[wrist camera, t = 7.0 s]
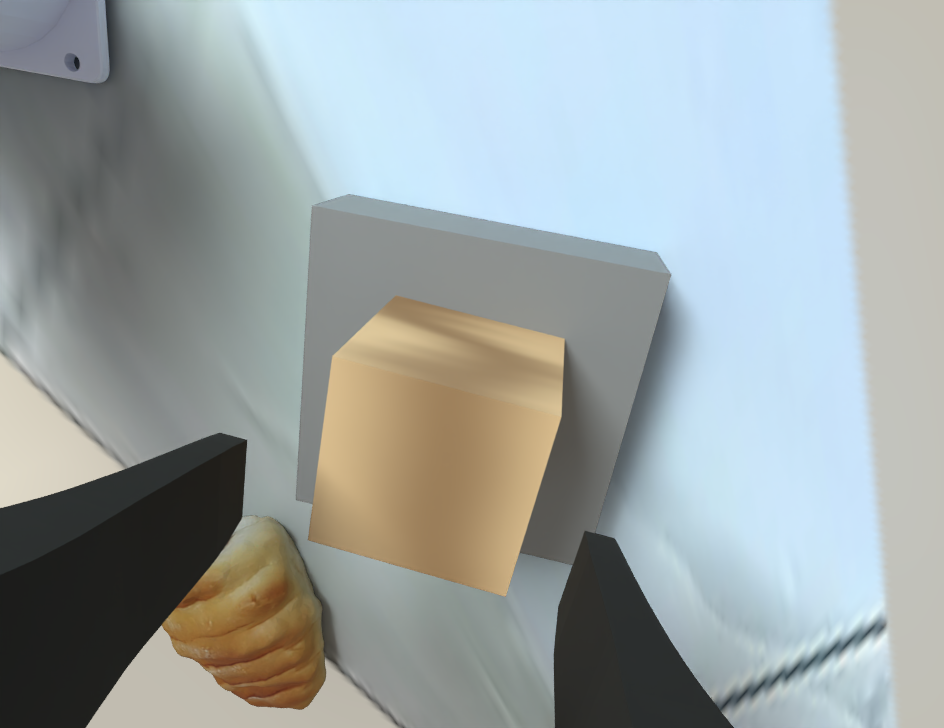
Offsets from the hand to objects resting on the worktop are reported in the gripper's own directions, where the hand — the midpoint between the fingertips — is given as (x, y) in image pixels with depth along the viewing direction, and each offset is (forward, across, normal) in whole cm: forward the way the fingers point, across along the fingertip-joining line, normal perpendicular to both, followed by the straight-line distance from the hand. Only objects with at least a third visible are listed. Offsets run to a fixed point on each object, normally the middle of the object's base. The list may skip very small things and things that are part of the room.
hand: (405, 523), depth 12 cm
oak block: (+6, 0, 0) cm, 6 cm away
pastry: (+10, +7, +13) cm, 18 cm away
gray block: (+9, 0, 0) cm, 9 cm away
